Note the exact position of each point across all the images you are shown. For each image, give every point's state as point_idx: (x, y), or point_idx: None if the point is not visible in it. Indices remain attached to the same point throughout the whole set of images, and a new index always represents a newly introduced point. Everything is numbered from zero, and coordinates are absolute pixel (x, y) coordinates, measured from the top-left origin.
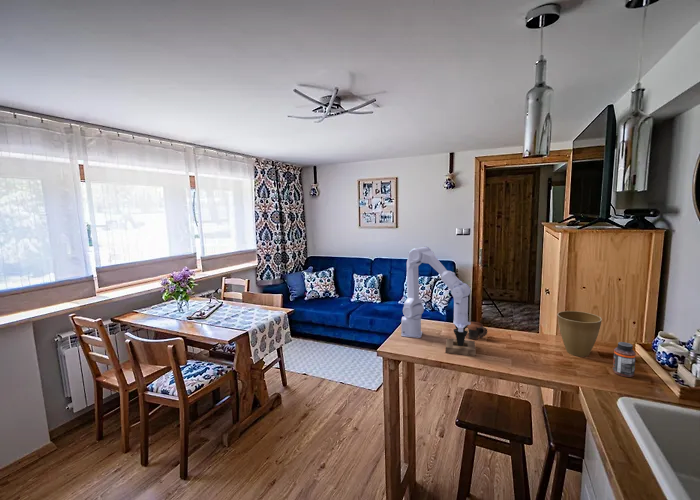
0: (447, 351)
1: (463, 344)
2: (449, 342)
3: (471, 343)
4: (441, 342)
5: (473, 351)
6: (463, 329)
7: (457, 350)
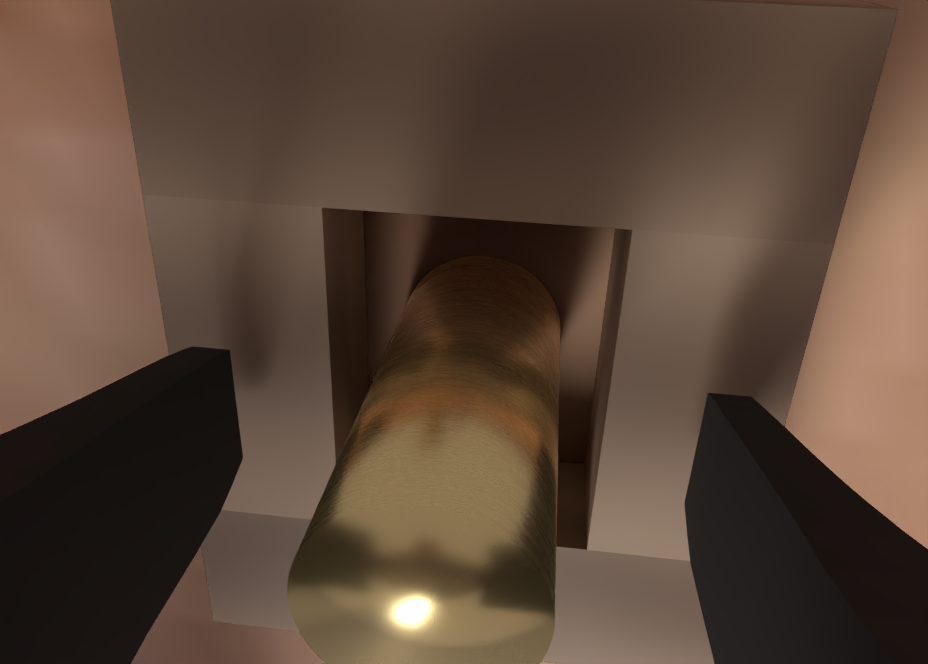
0: None
1: (510, 335)
2: None
3: (342, 98)
4: None
5: (865, 73)
6: (28, 546)
7: None
